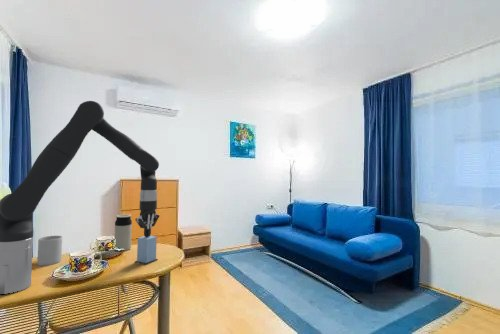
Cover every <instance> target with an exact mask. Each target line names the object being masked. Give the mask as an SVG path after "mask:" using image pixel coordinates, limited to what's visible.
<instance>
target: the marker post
mask: <svg viewBox="0 0 500 334" xmlns="http://www.w3.org/2000/svg"><path fill="white" fill-rule="evenodd" d="M158 260H159V259H158V258H156V259H155V260H153V261H150V262H148V263H144V262H139V261H137V260H135V261H134V263H137V264H141V265H145V266H146V265H150V264H152V263H154V262H157V261H158Z"/></svg>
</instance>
